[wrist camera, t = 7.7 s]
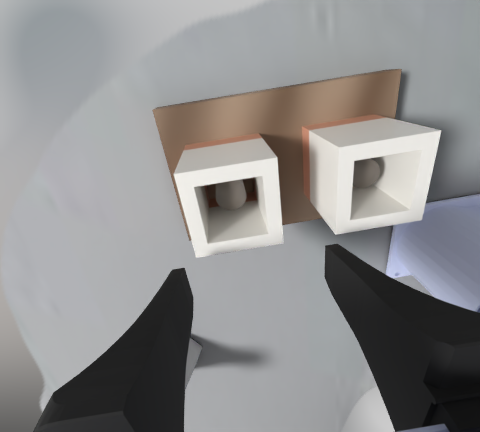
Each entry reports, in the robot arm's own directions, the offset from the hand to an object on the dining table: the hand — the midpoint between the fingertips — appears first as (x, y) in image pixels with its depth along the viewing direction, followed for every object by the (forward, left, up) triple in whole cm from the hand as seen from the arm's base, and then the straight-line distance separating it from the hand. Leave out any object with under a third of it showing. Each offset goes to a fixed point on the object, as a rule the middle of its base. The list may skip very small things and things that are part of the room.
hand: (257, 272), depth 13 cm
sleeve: (+1, -3, -8) cm, 8 cm away
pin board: (-3, -3, -9) cm, 10 cm away
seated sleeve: (-7, -3, -8) cm, 11 cm away
